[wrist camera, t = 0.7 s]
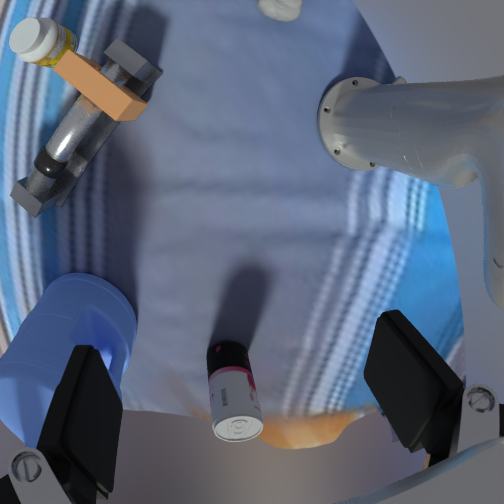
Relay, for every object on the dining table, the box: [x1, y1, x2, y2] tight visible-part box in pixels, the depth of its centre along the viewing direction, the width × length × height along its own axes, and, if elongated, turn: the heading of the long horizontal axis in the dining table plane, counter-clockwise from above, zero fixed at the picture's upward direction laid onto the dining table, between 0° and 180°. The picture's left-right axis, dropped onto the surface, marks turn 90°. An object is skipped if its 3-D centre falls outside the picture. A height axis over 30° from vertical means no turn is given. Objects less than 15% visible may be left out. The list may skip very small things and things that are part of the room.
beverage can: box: [207, 341, 263, 442], centre depth 42 cm, size 6×6×15 cm
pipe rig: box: [10, 38, 162, 218], centre depth 29 cm, size 21×6×7 cm, turn 136°
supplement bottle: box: [9, 17, 78, 68], centre depth 22 cm, size 5×5×10 cm
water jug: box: [0, 273, 137, 449], centre depth 29 cm, size 16×16×28 cm
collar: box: [53, 49, 148, 121], centre depth 26 cm, size 2×9×9 cm, turn 46°
